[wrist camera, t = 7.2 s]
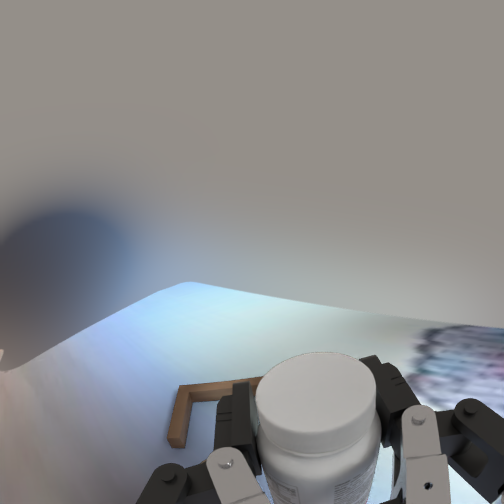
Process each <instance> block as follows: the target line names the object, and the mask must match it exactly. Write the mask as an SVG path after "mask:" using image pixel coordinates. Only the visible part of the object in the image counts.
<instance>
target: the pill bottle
mask: <svg viewBox="0 0 504 504" xmlns="http://www.w3.org/2000/svg"><path fill="white" fill-rule="evenodd" d="M255 400H256V406H257V411H258V416H259V420H260V425H259V427H258V430H257V436H256V443H257V450H258V454H259V458H260V461H261V464H262V467H263V471H264V474H265V477H266V480H267V483H268V486H269V489H270V492H271V495H272V498H273V501H274V504H366V502H367V500H368V496H369V493H370V489H371V486H372V481H373V477H374V473H375V468H376V464H377V458H378V453H379V448H380V442H381V432H382V428H381V421H380V418H379V415H378V413H377V411H376V409H375V408H376V403H375V401H376V383H375V379H374V376H373V374H372V372H371V371H370V369H369V368H368V367H367V366H366V365H364V364H363V363H362V362H361V361H359V360H357V359H355V358H353V357H350V356H347V355H344V354H339V353H333V352H315V353H308V354H303V355H299V356H295V357H293V358H290V359H288V360H285V361H283V362H281V363H280V364H278V365H276V366H275V367H273V368H272V369H271V370H270V371H268V372H267V373H266V374H265V375H264V377H263V378H262V379H261V381H260V383H259V385H258V387H257V390H256V397H255Z"/></svg>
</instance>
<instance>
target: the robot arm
mask: <svg viewBox="0 0 504 504" xmlns="http://www.w3.org/2000/svg"><path fill="white" fill-rule="evenodd" d="M359 361H361V362H362V363H363V364H364V365H366V366H367V367H368V368H369V369H370V371H371V372H372V374H373V376H374V379H375V383H376V401H375V403H376V408H375V409H376V411H377V413H378V415H379V418H380V421H381V428H382V432H381V443H382V445H383V448H386V447H389V446H392V448H393V450H394V452H393V461H392V490H391V497H390V500H389V501H386V502H383V503H380V504H451V497H450V483H449V472H448V464H449V465H450V466H451V467H452V468H453V469H454V470H455V471H456V472H457V473H458V474H459V475H460V476H461V477H462V478H463V479H464V480H465V481H466V482H468V483H469V484H470V485H471V486H472V487H473V488H474V489H475V490H476V491H477V492H478V493H479V494H480V495H481V496H482V497H483V498H484V499H486V500H487V501H488V502H489V503H490V504H504V418H502V417H501V416H499V415H498V414H497V413H495V412H494V411H493V410H491V409H490V408H489V407H487V406H486V405H485V404H483V403H482V402H480V401H479V400H477V399H473V398H468V399H464V400H461V401H460V402H459V403H458V404H457V405H456V407H455V409H454V410H447V411H439V412H437V411H433V410H432V409H431V408H430V407H428V406H425V405H421V404H420V402H419V401H418V399H417V397H416V396H415V394H414V393H413V391H412V390H411V388H410V387H409V385H408V384H407V383H406V381H405V379H404V378H403V377H402V375H401V373H400V372H399V370H398V369H397V368H396V367H395V366H393V365H392V364H390V363H384V364H381V362H380V361H379V359H378V357H377V356H376V355H372V356H368V357H365V358H361V359H359ZM216 414H217V415H216V425H215V439H214V450H213V452H212V453H211V454H210V455H209V456H208V458H207V460H206V461H205V462H203V463H201V464H198V465H195V466H192V467H188V468H185V469H184V468H183V467H182V466H180V465H178V464H174V463H168V464H164V465H161V466H159V467H158V468H157V469H156V470H155V471H154V472H153V474H152V476H151V477H150V479H149V481H148V483H147V485H146V486H145V488H144V490H143V492H142V493H141V495H140V497H139V499H138V501H137V502H136V504H271V503H270V501H269V500H268V498H267V496H266V495H265V493H264V492H263V491H262V490H261V488H260V486H259V484H258V482H257V481H256V476H257V475H262V468H261V461H260V458H259V454H258V450H257V443H256V436H257V430H258V427H259V425H258V413H257V407H256V403H255V399H254V395H253V391H252V387H251V383H250V381H245V382H238V383H233V385H232V395H226V396H222V398H221V399H220V401H219V402H218V404H217V413H216Z"/></svg>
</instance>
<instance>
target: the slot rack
mask: <svg viewBox="0 0 504 504" xmlns="http://www.w3.org/2000/svg"><path fill="white" fill-rule="evenodd" d="M263 377H264V376H262V377H255V378H248V379H240V380H232V381H223V382H214V383H203V384H192V385H179V389H178V393H177V397H176V401H175V405H174V409H173V413H172V418H171V422H170V426H169V430H168V435H167V440H168V442H169V443H170V445H171V447H172V448H185V444H186V438H187V432H188V426H189V420H190V414H191V409H192V403H193V402H203V401H214V400H220V399H221V398H222V396H226V395H232V385H233V383H238V382H245V381H250V383H251V387H252V391H253V395H254V396H256V390H257V387H258V385H259V383H260V381H261V379H262V378H263ZM206 460H207V459H206ZM206 460H204V461H202V462H201V463H203V462H205V461H206ZM201 463H200V464H201Z"/></svg>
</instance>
